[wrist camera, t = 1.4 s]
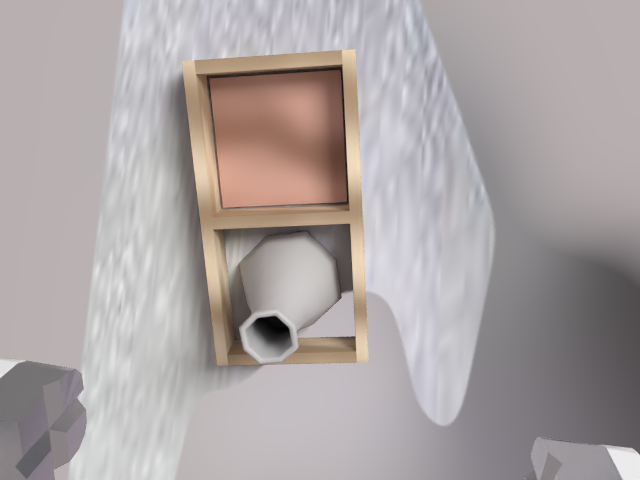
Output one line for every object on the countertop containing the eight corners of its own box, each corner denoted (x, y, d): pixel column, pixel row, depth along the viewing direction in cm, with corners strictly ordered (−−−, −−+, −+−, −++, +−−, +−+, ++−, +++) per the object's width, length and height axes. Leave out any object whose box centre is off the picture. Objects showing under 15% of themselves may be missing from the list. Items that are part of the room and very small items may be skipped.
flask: (222, 257, 39) (178, 308, 30) (312, 213, 38) (296, 252, 28) (270, 341, 41) (242, 417, 31) (358, 301, 40) (358, 367, 30)
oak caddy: (367, 346, 40) (368, 362, 38) (225, 349, 41) (217, 365, 39) (355, 52, 35) (355, 49, 33) (193, 63, 36) (181, 61, 34)
